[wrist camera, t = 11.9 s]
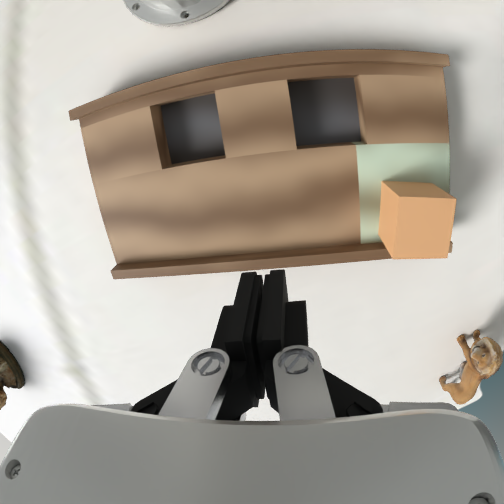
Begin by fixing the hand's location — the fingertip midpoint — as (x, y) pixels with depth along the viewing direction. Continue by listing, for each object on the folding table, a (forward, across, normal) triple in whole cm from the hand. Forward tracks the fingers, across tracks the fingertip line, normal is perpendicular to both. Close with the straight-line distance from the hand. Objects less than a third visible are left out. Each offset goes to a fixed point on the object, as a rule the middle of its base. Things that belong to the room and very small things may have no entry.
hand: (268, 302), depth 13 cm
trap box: (+19, +1, -2) cm, 19 cm away
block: (+16, -11, +3) cm, 20 cm away
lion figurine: (+18, -23, +25) cm, 39 cm away
